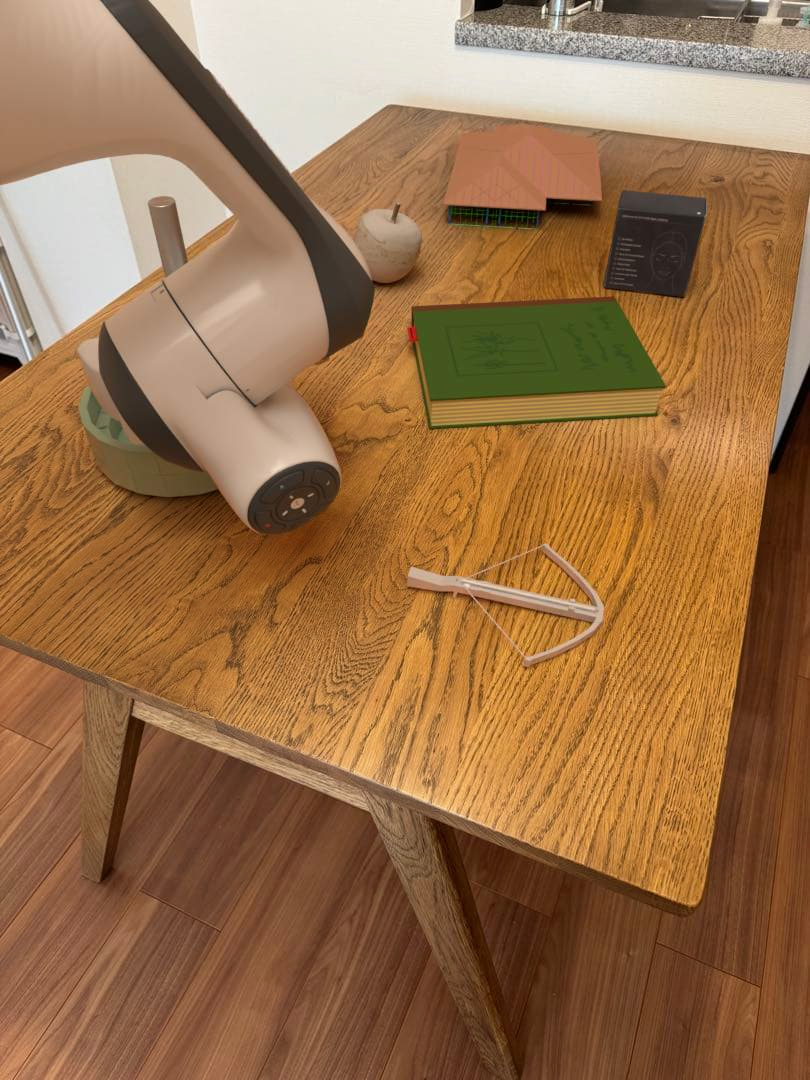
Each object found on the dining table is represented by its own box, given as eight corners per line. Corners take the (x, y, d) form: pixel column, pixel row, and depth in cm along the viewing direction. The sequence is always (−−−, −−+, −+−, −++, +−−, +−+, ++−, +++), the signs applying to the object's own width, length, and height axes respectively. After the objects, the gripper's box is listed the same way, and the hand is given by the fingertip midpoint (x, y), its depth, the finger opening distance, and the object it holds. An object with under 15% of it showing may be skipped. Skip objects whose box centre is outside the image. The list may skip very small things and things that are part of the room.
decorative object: (341, 277, 104) (337, 202, 97) (391, 258, 108) (390, 184, 101) (384, 302, 99) (382, 224, 92) (434, 280, 103) (437, 204, 96)
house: (593, 154, 136) (602, 102, 130) (599, 235, 113) (609, 177, 107) (462, 147, 138) (465, 97, 133) (442, 226, 115) (443, 168, 110)
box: (686, 276, 104) (708, 196, 97) (685, 299, 100) (707, 218, 92) (606, 266, 106) (621, 187, 99) (601, 288, 102) (616, 208, 94)
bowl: (159, 532, 70) (143, 481, 66) (64, 439, 80) (44, 389, 75) (320, 443, 79) (315, 393, 75) (217, 369, 89) (208, 322, 84)
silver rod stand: (199, 450, 76) (145, 226, 60) (161, 419, 80) (101, 200, 64) (258, 420, 79) (221, 201, 64) (219, 392, 83) (175, 178, 67)
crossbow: (603, 569, 68) (609, 553, 66) (593, 689, 59) (600, 673, 58) (424, 531, 70) (426, 514, 68) (389, 641, 61) (390, 625, 59)
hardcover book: (608, 324, 95) (614, 296, 93) (657, 416, 82) (666, 386, 80) (405, 335, 94) (405, 306, 91) (422, 429, 81) (422, 399, 78)
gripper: (344, 319, 64) (286, 252, 72) (88, 383, 57) (58, 300, 66) (349, 385, 68) (293, 314, 77) (111, 450, 62) (80, 365, 71)
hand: (183, 308), depth 71 cm, fingers closed on silver rod stand, 2 cm apart
